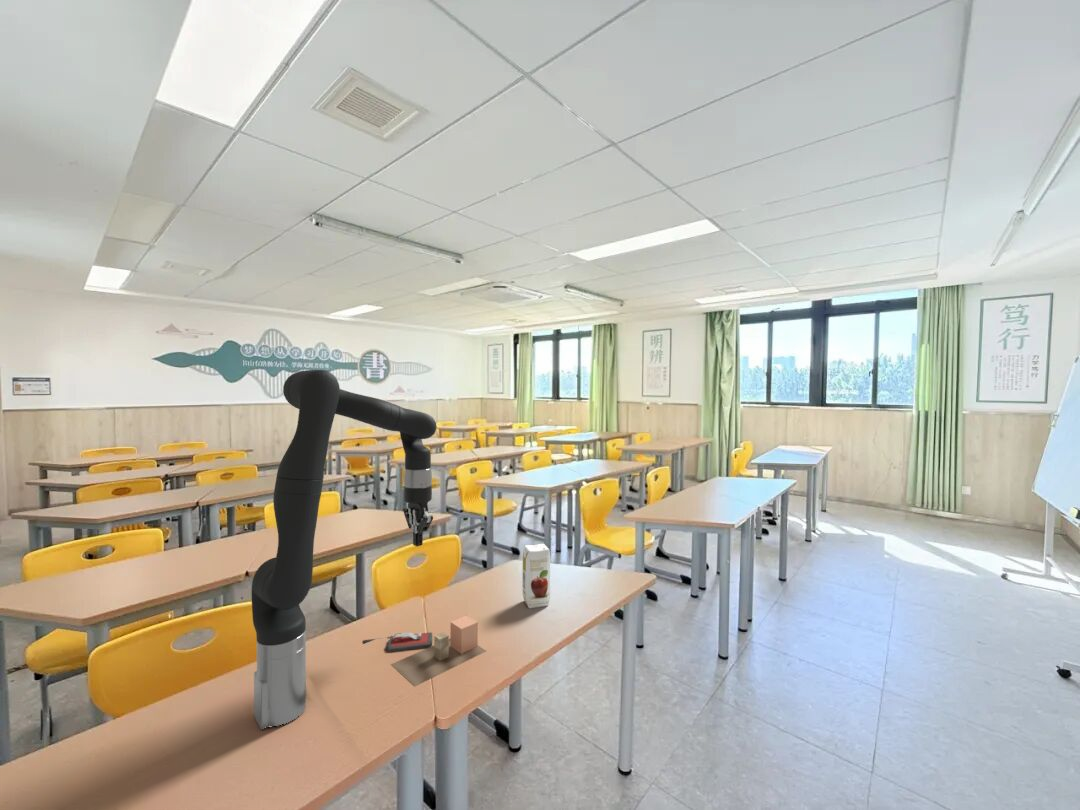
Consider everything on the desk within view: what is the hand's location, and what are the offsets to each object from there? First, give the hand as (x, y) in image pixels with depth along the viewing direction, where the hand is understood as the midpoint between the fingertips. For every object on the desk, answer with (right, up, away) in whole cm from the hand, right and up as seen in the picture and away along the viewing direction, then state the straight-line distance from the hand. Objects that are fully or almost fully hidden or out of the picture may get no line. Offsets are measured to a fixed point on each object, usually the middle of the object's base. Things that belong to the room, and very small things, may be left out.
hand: (417, 545), depth 126 cm
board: (+9, -27, -11) cm, 30 cm away
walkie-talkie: (-4, -28, -4) cm, 28 cm away
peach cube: (+14, -26, -5) cm, 30 cm away
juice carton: (+33, -27, +23) cm, 49 cm away
